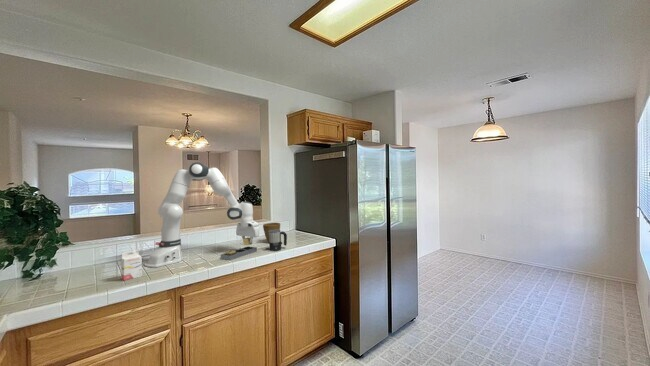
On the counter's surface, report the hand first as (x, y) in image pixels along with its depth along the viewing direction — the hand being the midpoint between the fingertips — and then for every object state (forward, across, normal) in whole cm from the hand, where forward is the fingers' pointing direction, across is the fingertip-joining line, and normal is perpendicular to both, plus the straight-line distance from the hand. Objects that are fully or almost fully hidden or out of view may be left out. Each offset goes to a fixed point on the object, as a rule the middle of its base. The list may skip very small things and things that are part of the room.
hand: (247, 242), depth 196 cm
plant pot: (+8, -6, +34) cm, 35 cm away
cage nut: (+2, 0, 0) cm, 2 cm away
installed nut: (+7, 0, -16) cm, 18 cm away
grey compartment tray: (+8, 0, -8) cm, 11 cm away
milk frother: (+8, +11, +19) cm, 23 cm away
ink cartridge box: (+8, -22, -66) cm, 70 cm away
